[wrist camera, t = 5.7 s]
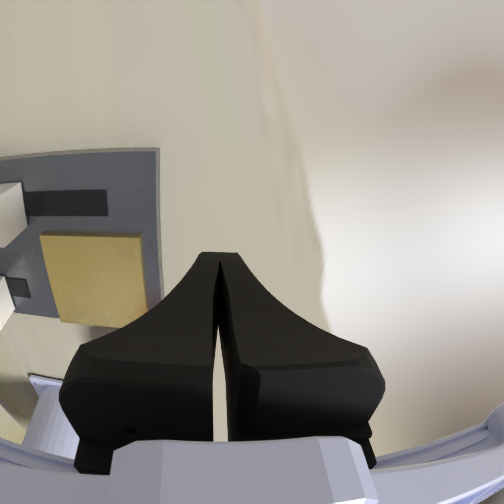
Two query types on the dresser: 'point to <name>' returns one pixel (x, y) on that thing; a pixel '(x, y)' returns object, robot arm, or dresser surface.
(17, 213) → the block
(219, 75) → the dresser surface
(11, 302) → the block
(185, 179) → the dresser surface
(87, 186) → the panel
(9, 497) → the robot arm
